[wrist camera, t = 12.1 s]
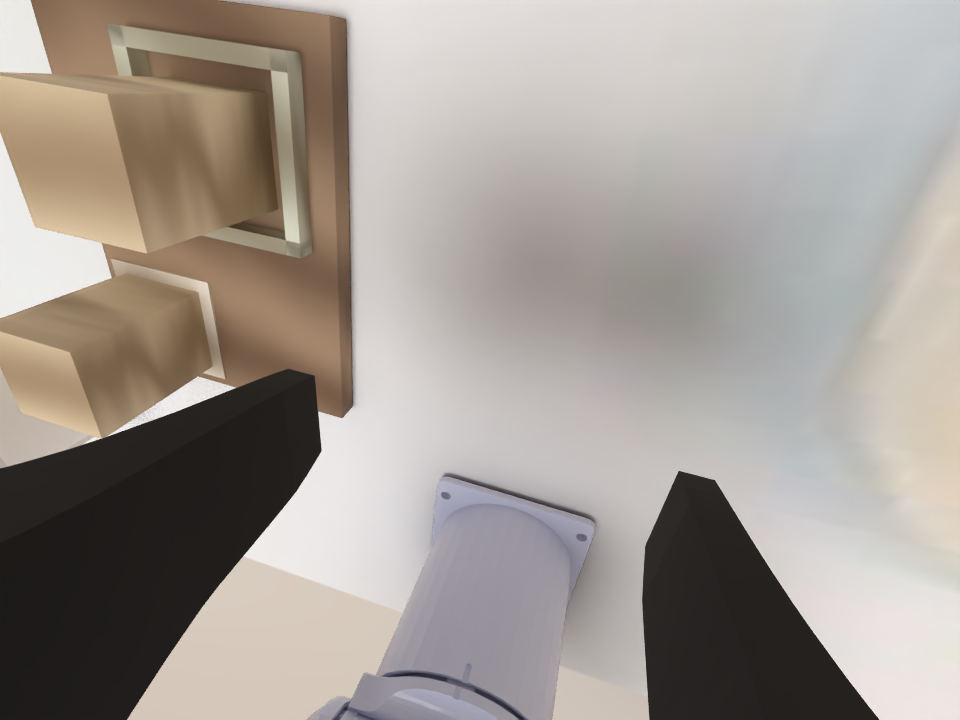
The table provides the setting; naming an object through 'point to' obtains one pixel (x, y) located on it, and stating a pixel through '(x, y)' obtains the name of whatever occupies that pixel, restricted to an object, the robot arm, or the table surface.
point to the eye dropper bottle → (30, 433)
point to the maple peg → (137, 155)
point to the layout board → (216, 255)
